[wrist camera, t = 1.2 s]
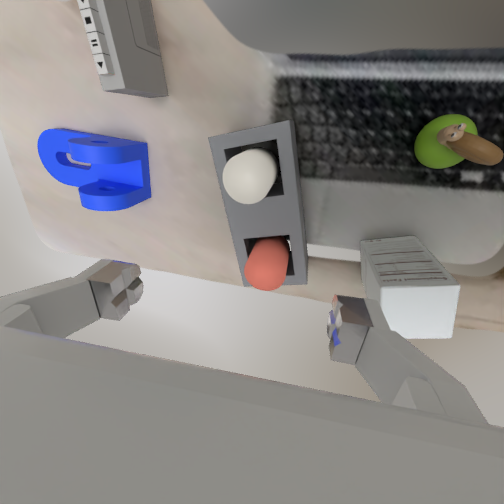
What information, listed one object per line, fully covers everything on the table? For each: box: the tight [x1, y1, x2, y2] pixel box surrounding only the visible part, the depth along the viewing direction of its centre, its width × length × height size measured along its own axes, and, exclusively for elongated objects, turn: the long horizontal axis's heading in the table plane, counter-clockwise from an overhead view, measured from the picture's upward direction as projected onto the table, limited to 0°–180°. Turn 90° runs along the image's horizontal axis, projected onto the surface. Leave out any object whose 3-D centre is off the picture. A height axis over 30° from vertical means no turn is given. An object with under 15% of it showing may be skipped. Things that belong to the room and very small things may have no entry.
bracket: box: [38, 129, 151, 211], centre depth 36 cm, size 18×8×9 cm, turn 82°
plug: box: [223, 147, 279, 204], centre depth 27 cm, size 5×5×6 cm
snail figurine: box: [414, 114, 503, 169], centre depth 24 cm, size 5×6×12 cm
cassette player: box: [77, 0, 168, 98], centre depth 26 cm, size 16×3×10 cm, turn 3°
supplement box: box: [360, 236, 460, 339], centre depth 32 cm, size 7×7×13 cm
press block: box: [208, 120, 308, 287], centre depth 34 cm, size 9×20×8 cm, turn 10°
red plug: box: [244, 235, 290, 291], centre depth 32 cm, size 5×5×6 cm
